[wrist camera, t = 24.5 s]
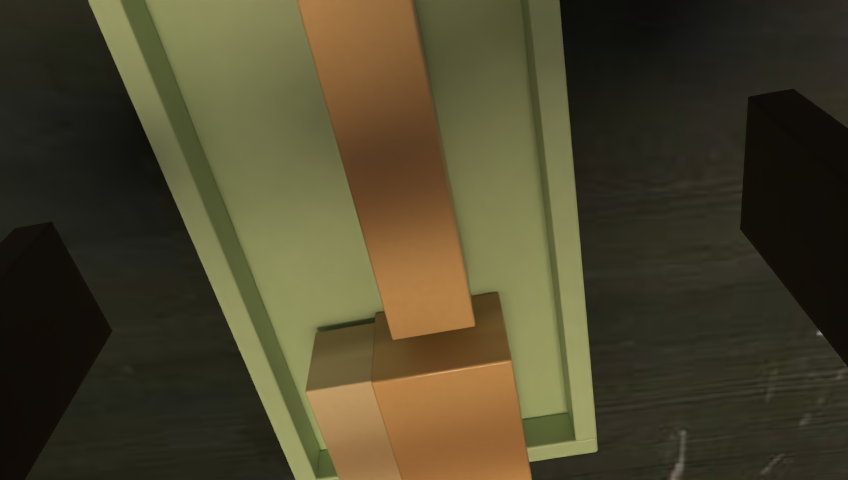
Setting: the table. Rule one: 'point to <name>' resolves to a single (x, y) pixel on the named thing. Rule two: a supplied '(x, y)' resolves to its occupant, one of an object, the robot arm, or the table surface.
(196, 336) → the table surface
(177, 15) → the tray
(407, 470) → the wooden mallet
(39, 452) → the robot arm
